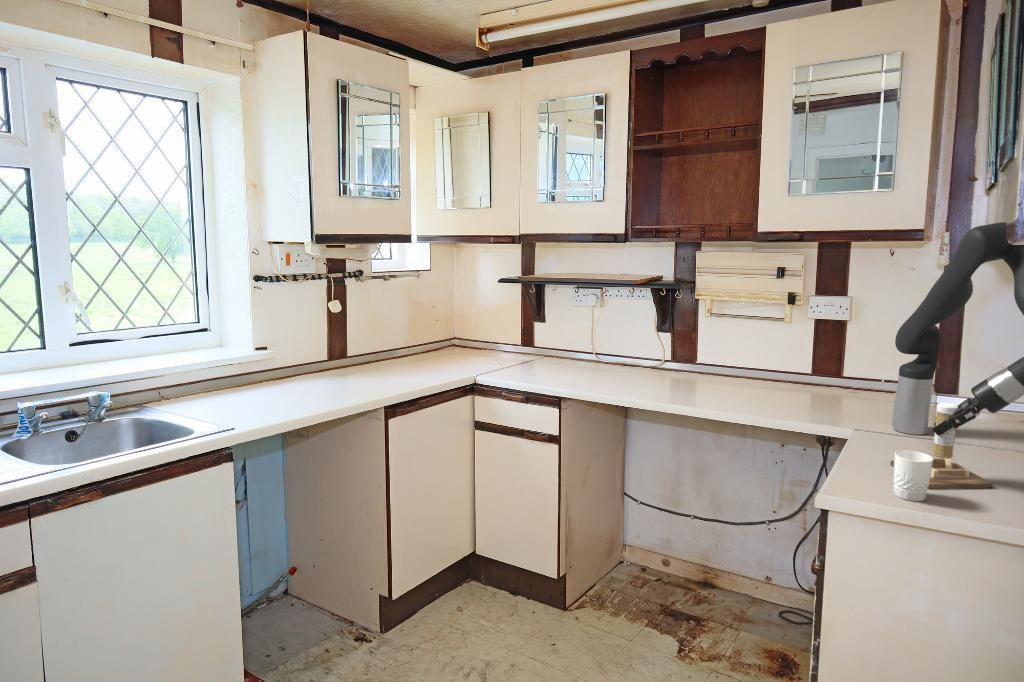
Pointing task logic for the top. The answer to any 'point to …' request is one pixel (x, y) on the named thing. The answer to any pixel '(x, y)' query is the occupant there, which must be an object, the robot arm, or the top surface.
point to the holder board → (953, 476)
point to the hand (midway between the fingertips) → (936, 429)
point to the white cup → (911, 475)
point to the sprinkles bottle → (945, 440)
